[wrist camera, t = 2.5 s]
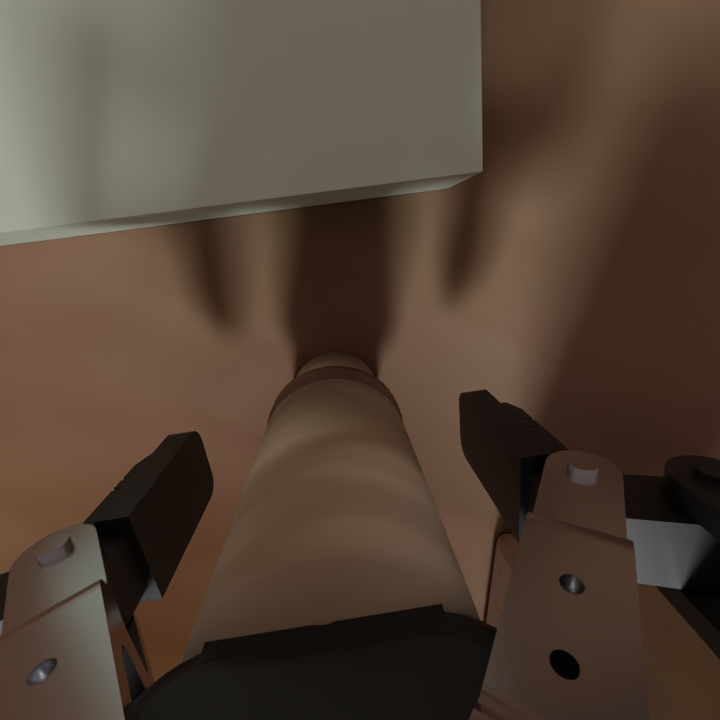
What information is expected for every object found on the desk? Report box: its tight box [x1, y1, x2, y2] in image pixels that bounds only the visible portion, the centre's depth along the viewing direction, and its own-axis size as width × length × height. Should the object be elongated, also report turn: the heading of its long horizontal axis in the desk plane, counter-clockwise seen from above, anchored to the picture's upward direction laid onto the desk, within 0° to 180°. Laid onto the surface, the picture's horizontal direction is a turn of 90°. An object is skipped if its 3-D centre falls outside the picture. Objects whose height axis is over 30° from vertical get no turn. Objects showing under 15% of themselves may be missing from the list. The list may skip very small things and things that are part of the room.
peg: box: [183, 352, 481, 662], centre depth 10 cm, size 4×4×10 cm
